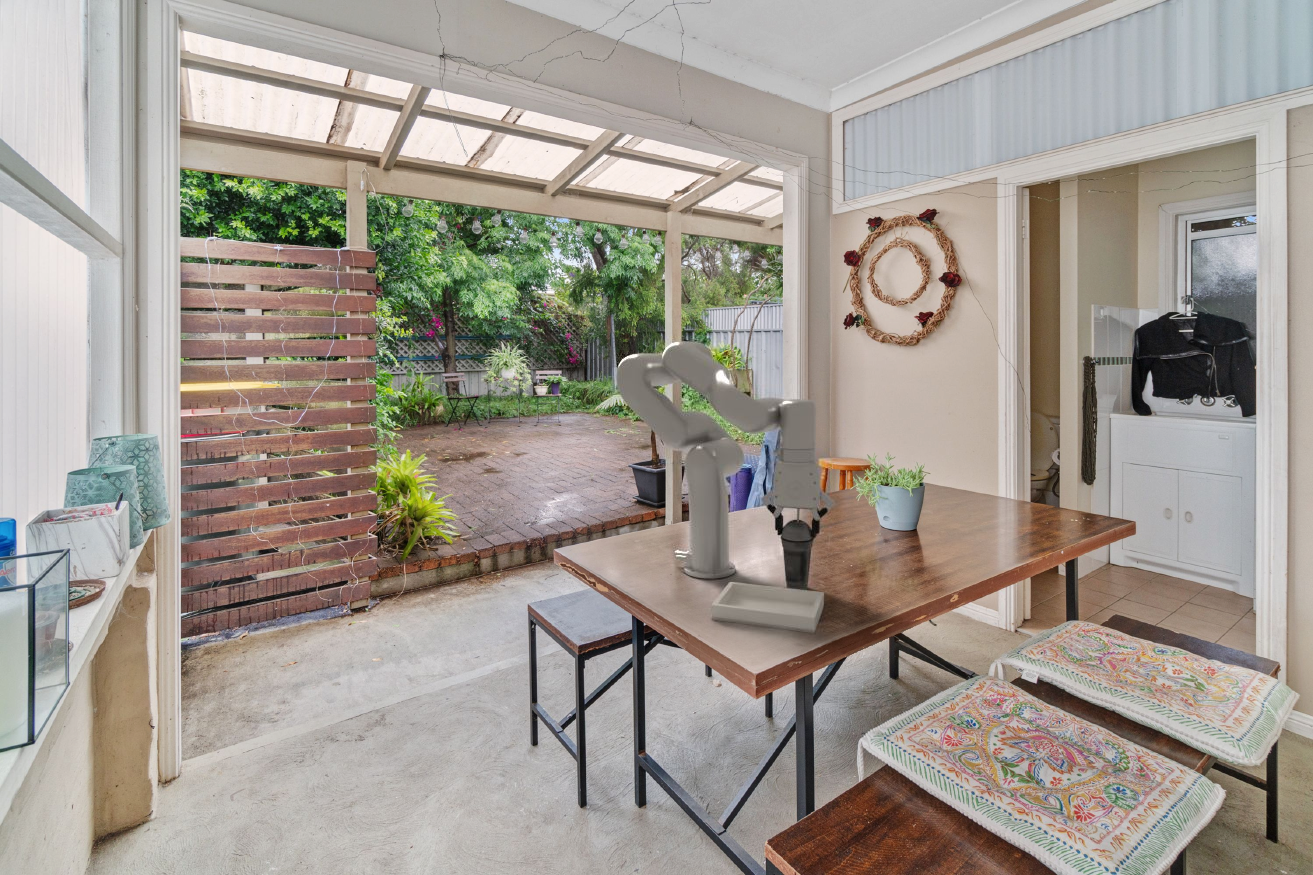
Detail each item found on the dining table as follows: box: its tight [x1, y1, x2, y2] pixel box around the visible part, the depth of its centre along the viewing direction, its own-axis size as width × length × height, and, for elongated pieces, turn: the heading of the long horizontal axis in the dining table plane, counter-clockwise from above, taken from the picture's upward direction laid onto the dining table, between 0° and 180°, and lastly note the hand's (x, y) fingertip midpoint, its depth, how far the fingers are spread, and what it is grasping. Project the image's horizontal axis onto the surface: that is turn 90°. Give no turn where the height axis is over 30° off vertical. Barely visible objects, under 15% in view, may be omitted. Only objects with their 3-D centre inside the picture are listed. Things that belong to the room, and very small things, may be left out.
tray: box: [710, 581, 825, 634], centre depth 127 cm, size 20×14×3 cm
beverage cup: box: [780, 509, 815, 590], centre depth 140 cm, size 7×7×20 cm
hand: (797, 534), depth 140 cm, fingers closed on beverage cup, 6 cm apart
